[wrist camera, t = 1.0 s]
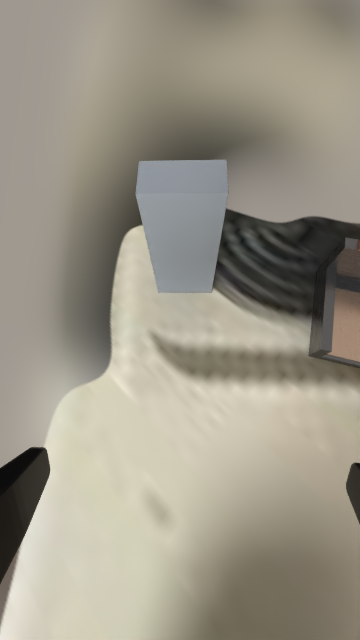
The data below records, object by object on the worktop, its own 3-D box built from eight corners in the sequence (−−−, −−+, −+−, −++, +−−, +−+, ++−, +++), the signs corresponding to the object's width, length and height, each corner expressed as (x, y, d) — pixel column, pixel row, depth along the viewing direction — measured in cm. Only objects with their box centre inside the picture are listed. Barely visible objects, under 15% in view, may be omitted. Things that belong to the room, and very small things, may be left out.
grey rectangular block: (211, 292, 25) (228, 192, 14) (158, 292, 25) (135, 193, 14) (210, 268, 26) (226, 158, 15) (159, 268, 26) (139, 159, 15)
